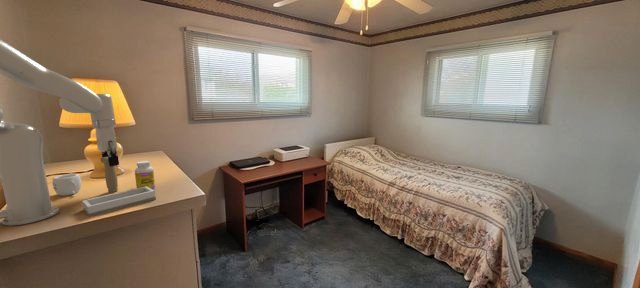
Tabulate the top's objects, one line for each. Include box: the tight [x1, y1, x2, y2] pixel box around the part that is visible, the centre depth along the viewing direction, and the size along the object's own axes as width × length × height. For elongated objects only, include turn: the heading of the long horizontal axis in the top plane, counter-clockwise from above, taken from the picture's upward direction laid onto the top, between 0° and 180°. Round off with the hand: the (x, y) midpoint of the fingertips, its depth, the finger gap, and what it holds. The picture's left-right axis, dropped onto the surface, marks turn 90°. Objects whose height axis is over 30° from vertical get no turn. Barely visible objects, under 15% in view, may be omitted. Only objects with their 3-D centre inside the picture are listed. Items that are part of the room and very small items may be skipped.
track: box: [81, 186, 157, 217], centre depth 96 cm, size 20×10×4 cm, turn 141°
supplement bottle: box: [134, 160, 156, 191], centre depth 110 cm, size 7×7×13 cm
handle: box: [100, 156, 119, 194], centre depth 109 cm, size 5×6×15 cm
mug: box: [51, 173, 82, 197], centre depth 107 cm, size 12×8×8 cm
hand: (111, 163), depth 109 cm, fingers open, 9 cm apart
